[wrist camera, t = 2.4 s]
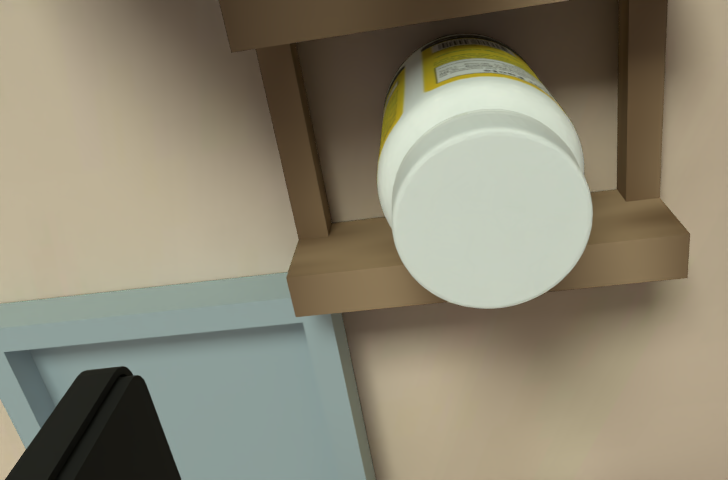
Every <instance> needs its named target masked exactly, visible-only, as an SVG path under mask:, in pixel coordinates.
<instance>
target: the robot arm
mask: <svg viewBox="0 0 728 480" xmlns="http://www.w3.org/2000/svg"><path fill="white" fill-rule="evenodd" d="M5 480H181V477H180V474H179V472H178V469H177V466H176V463H175V461H174V458H173V455H172V452H171V450H170V447H169V444H168V442H167V439H166V436H165V433H164V431H163V428H162V425H161V423H160V420H159V417H158V414H157V412H156V409H155V406H154V404H153V401H152V398H151V395H150V393H149V390H148V387H147V385H146V382H145V380H144V379H143V378H142V377H141V376H139V375H134V376H133V374H132V372H131V371H130V370H129V369H128V368H127V367H124V366H120V367H110V368H101V369H92V370H86V371H83V372H81V373H80V374H79V375H78V376H77V377H76V379H75V380H74V382H73V383H72V385H71V386H70V387H69V389H68V390H67V392H66V393H65V395H64V396H63V397H62V399H61V400H60V402H59V403H58V405H57V406H56V407H55V409H54V410H53V412H52V413H51V415H50V416H49V417H48V419H47V420H46V422H45V423H44V425H43V426H42V427H41V429H40V430H39V432H38V433H37V435H36V436H35V437H34V439H33V440H32V442H31V443H30V445H29V446H28V447H27V449H26V450H25V452H24V453H23V455H22V456H21V457H20V459H19V460H18V462H17V463H16V465H15V466H14V467H13V469H12V470H11V472H10V473H9V475H8V476H7V477H6V479H5Z"/></svg>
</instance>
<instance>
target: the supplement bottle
mask: <svg viewBox="0 0 728 480" xmlns="http://www.w3.org/2000/svg"><path fill="white" fill-rule="evenodd" d="M377 190H378V195H379V200H380V204H381V207H382V210H383V213H384V215H385V218H386V219H387V221H388V223H389V225H390V227H391V229H392V234H393V238H394V243H395V247H396V249H397V252H398V254H399V257H400V259H401V261H402V262H403V264H404V266H405V267H406V269H407V270H408V271H409V273H410V274H411V275H412V277H413V278H414V279H415V280H416V281H417V282H418V283H419V284H420V285H421V286H423V287H424V288H425V289H427V290H428V291H430V292H431V293H432V294H434V295H436V296H438V297H439V298H441V299H444V300H446V301H448V302H451V303H454V304H457V305H461V306H465V307H472V308H480V309H494V308H504V307H509V306H514V305H518V304H521V303H524V302H526V301H529V300H531V299H534V298H536V297H538V296H540V295H542V294H543V293H545V292H547V291H548V290H550V289H551V288H553V287H554V286H555V285H557V284H558V283H559V282H560V281H561V280H562V279H563V278H564V277H566V276H567V275H568V273H569V272H570V271H571V270H572V269H573V268H574V266H575V265H576V263H577V262H578V260H579V259H580V257H581V256H582V254H583V252H584V250H585V247H586V245H587V242H588V240H589V237H590V232H591V228H592V218H593V206H592V199H591V194H590V190H589V187H588V184H587V182H586V179H585V177H584V157H583V152H582V147H581V143H580V140H579V137H578V135H577V133H576V130H575V128H574V126H573V124H572V122H571V121H570V119H569V118H568V116H567V115H566V113H565V112H564V110H563V109H562V108H561V106H560V105H559V104H558V103H557V101H556V100H555V99H554V98H553V97H552V95H551V94H550V93H549V91H548V90H547V89H546V88H545V86H544V85H543V84H542V83H541V81H540V80H539V79H538V77H537V76H536V75H535V74H534V72H533V71H532V70H531V69H530V67H529V66H528V65H527V64H526V62H525V61H524V60H523V59H522V58H521V57H520V56H519V55H518V54H517V53H516V52H515V51H514V50H512V49H511V48H510V47H508V46H507V45H505V44H503V43H502V42H499V41H497V40H495V39H493V38H490V37H486V36H482V35H476V34H455V35H450V36H445V37H442V38H439V39H436V40H434V41H432V42H430V43H428V44H426V45H424V46H422V47H421V48H419V49H418V50H417V51H416V52H414V53H413V54H412V55H411V56H410V57H409V58H408V59H407V60H406V61H405V62H404V63H403V64H402V66H401V67H400V68H399V70H398V71H397V73H396V74H395V76H394V78H393V80H392V82H391V84H390V86H389V89H388V91H387V95H386V100H385V104H384V112H383V123H382V133H381V142H380V151H379V159H378V169H377Z"/></svg>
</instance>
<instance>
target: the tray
mask: <svg viewBox="0 0 728 480" xmlns="http://www.w3.org/2000/svg"><path fill="white" fill-rule="evenodd" d="M287 274H288V272H286V273H277V274H268V275H259V276H250V277H241V278H232V279H222V280H213V281H204V282H195V283H186V284H177V285H168V286H159V287H149V288H140V289H131V290H122V291H113V292H104V293H95V294H86V295H76V296H67V297H58V298H49V299H40V300H31V301H22V302H13V303H3V304H0V399H1V401H2V403H3V405H4V407H5V409H6V411H7V413H8V415H9V417H10V419H11V421H12V423H13V425H14V427H15V429H16V430H17V432H18V434H19V436H20V438H21V440H22V442H23V444H24V446H25V448H26V449H27V447H28V446H29V445H30V443H31V442H32V440H33V439H34V437H35V436H36V435H37V433H38V432H39V430H40V429H41V427H42V426H43V425H44V423H45V422H46V420H47V419H48V417H49V416H50V415H51V413H52V412H53V410H54V409H55V407H56V406H57V405H58V403H59V402H60V400H61V399H62V397H63V396H64V395H65V393H66V392H67V390H68V389H69V387H70V386H71V385H72V383H73V382H74V380H75V379H76V377H77V376H78V375H79V374H80V373H81V372H83V371H86V370H92V369H101V368H110V367H120V366H124V367H127V368H128V369H129V370H130V371H131V372H132V374H133V376H134V375H139V376H141V377H142V378H143V379H144V380H145V382H146V385H147V387H148V390H149V393H150V395H151V398H152V401H153V404H154V406H155V409H156V412H157V414H158V417H159V420H160V423H161V425H162V428H163V431H164V433H165V436H166V439H167V442H168V444H169V447H170V450H171V452H172V455H173V458H174V461H175V463H176V466H177V469H178V472H179V474H180V477H181V480H376V478H375V473H374V468H373V464H372V459H371V454H370V449H369V444H368V439H367V434H366V430H365V425H364V420H363V415H362V410H361V405H360V400H359V396H358V391H357V386H356V381H355V376H354V371H353V366H352V361H351V357H350V352H349V347H348V342H347V337H346V332H345V327H344V323H343V318H342V313H333V314H323V315H313V316H303V317H295V312H294V308H293V304H292V300H291V296H290V292H289V288H288V284H287V279H286V277H287Z"/></svg>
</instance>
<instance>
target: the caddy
mask: <svg viewBox="0 0 728 480" xmlns="http://www.w3.org/2000/svg"><path fill="white" fill-rule="evenodd" d="M561 1H567V0H219V3H220V7H221V11H222V16H223V20H224V24H225V28H226V32H227V36H228V40H229V44H230V49H231V53H232V52H238V51H245V50H251V49H256V52H257V57H258V61H259V66H260V70H261V75H262V79H263V83H264V88H265V92H266V97H267V101H268V106H269V110H270V114H271V119H272V123H273V128H274V132H275V136H276V141H277V145H278V150H279V154H280V159H281V163H282V167H283V172H284V176H285V181H286V185H287V189H288V194H289V198H290V203H291V207H292V212H293V216H294V220H295V225H296V229H297V234H298V238H299V241H298V244H297V247H296V250H295V253H294V256H293V259H292V262H291V265H290V268H289V271H288V274H287V277H286V279H287V284H288V288H289V292H290V296H291V300H292V304H293V308H294V312H295V317H303V316H313V315H323V314H333V313H343V312H353V311H363V310H373V309H383V308H393V307H403V306H413V305H423V304H433V303H443V302H448V301H446V300H444V299H441V298H439V297H438V296H436V295H434V294H432V293H431V292H430V291H428V290H427V289H425V288H424V287H423V286H421V285H420V284H419V283H418V282H417V281H416V280H415V279H414V278H413V277H412V275H411V274H410V273H409V271H408V270H407V269H406V267H405V266H404V264H403V262H402V261H401V259H400V257H399V254H398V252H397V249H396V247H395V243H394V238H393V234H392V229H391V227H390V225H389V223H388V221H387V219H386V218H385V217H380V218H372V219H363V220H355V221H346V222H338V223H332V221H331V216H330V211H329V206H328V201H327V196H326V191H325V186H324V181H323V176H322V171H321V166H320V161H319V156H318V151H317V146H316V141H315V136H314V131H313V126H312V121H311V116H310V111H309V106H308V101H307V96H306V91H305V86H304V81H303V76H302V71H301V66H300V61H299V56H298V51H297V46H296V42H303V41H309V40H316V39H322V38H329V37H335V36H341V35H348V34H354V33H361V32H367V31H374V30H380V29H387V28H393V27H400V26H406V25H412V24H419V23H425V22H432V21H438V20H445V19H451V18H458V17H464V16H471V15H477V14H484V13H490V12H496V11H503V10H509V9H516V8H522V7H529V6H535V5H542V4H548V3H555V2H561ZM667 3H668V0H619V38H618V145H617V190H608V191H600V192H592V193H590V194H591V199H592V206H593V218H592V228H591V232H590V237H589V240H588V242H587V245H586V247H585V250H584V252H583V254H582V256H581V257H580V259H579V260H578V262H577V263H576V265H575V266H574V268H573V269H572V270H571V271H570V272H569V273H568V275H567V276H566V277H564V278H563V279H562V280H561V281H560V282H559V283H558V284H557V285H555V286H554V287H553V288H551V289H550V290H548V291H547V292H552V291H562V290H572V289H582V288H592V287H602V286H612V285H621V284H631V283H641V282H651V281H661V280H671V279H681V278H687V275H688V259H689V243H690V233H689V232H688V231H687V230H686V228H685V227H684V226H683V225H682V224H681V223H680V221H679V220H678V219H677V218H676V217H675V215H674V214H673V213H672V212H671V211H670V210H669V208H668V207H667V206H666V205H665V204H664V202H663V201H662V200H661V199H660V178H661V153H662V128H663V103H664V78H665V53H666V28H667Z"/></svg>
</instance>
